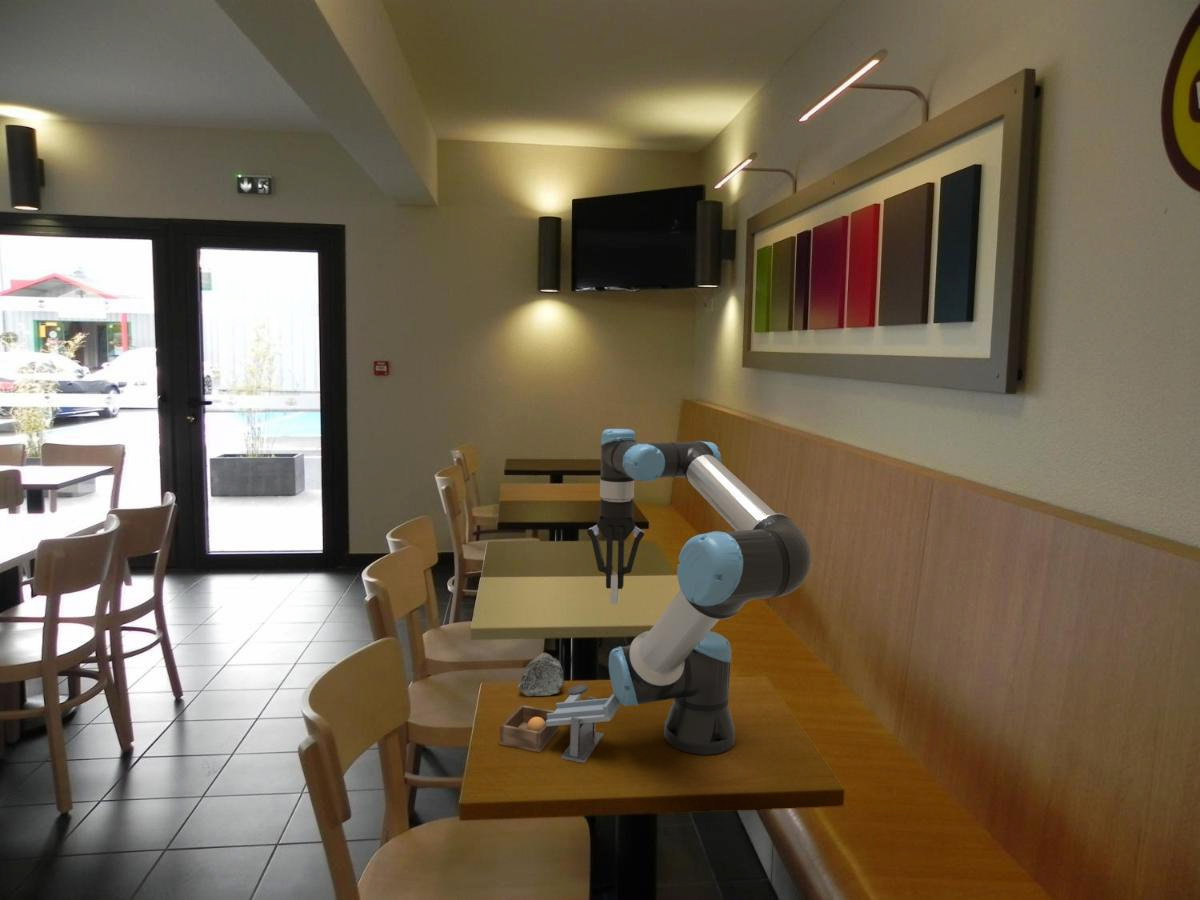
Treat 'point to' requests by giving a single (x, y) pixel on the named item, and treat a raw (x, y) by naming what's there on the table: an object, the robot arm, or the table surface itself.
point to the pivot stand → (581, 740)
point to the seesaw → (583, 708)
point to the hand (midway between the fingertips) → (614, 602)
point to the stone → (542, 676)
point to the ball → (535, 723)
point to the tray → (519, 735)
